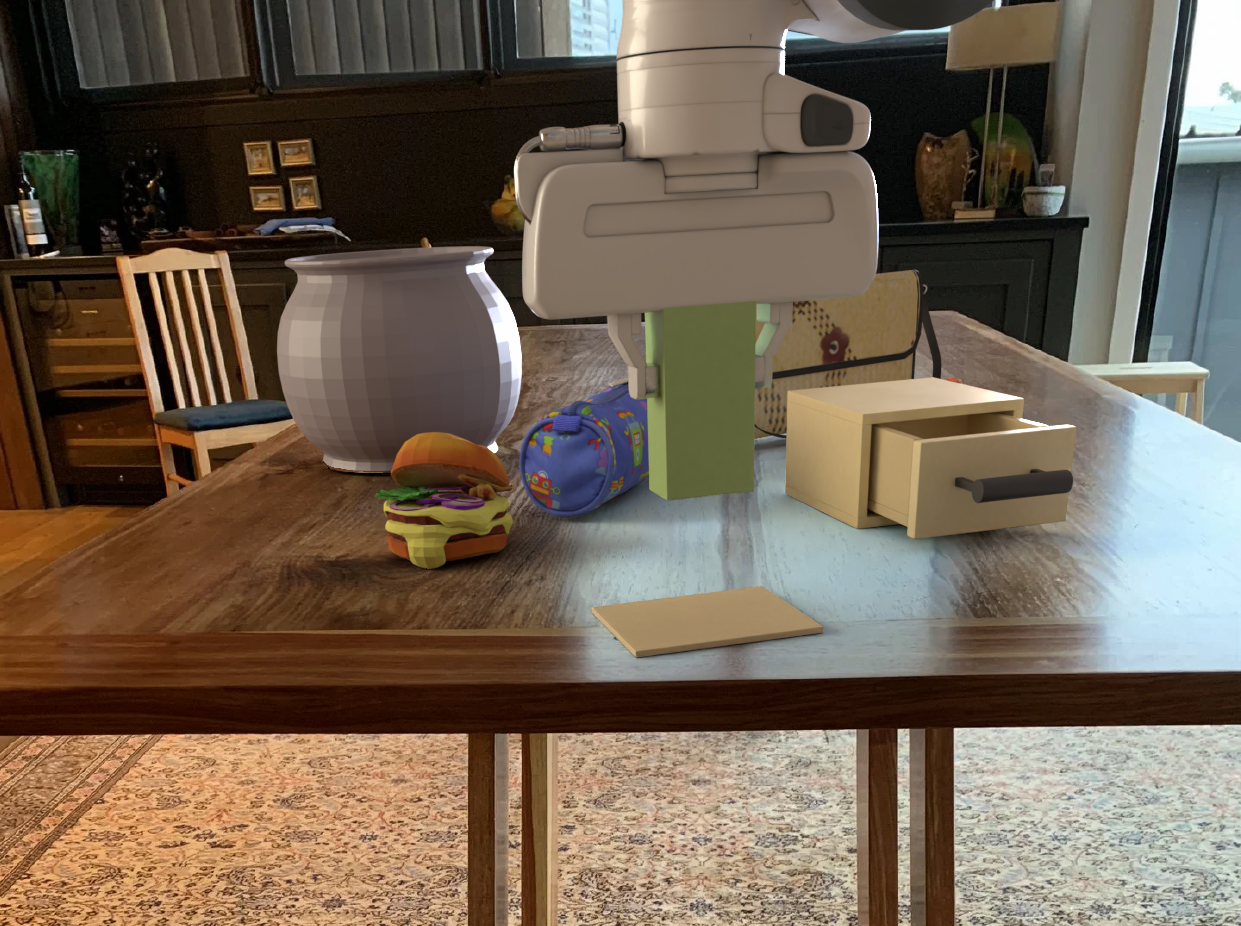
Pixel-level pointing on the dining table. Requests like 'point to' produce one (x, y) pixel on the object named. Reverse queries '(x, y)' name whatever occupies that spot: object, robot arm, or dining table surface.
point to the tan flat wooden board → (703, 621)
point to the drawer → (970, 473)
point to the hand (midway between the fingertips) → (701, 392)
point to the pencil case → (586, 452)
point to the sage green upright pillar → (702, 400)
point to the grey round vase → (397, 352)
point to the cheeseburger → (446, 501)
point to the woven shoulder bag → (848, 344)
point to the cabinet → (864, 436)
